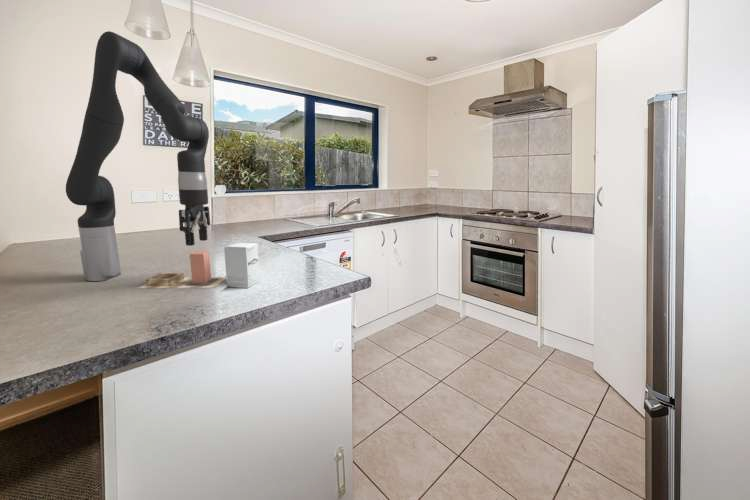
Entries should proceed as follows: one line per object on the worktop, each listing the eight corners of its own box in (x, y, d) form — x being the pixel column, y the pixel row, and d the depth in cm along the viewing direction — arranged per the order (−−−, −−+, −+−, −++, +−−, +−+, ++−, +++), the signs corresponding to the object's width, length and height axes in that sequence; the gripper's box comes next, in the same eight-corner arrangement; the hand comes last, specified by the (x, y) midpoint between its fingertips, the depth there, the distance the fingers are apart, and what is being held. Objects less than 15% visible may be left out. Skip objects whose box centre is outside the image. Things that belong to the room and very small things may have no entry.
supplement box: (248, 288, 108) (245, 247, 106) (226, 287, 110) (222, 246, 107) (260, 281, 115) (258, 243, 113) (239, 280, 117) (237, 242, 114)
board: (137, 291, 105) (135, 281, 105) (158, 280, 116) (157, 271, 116) (213, 290, 106) (212, 280, 105) (227, 280, 117) (226, 271, 116)
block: (192, 283, 109) (189, 254, 107) (198, 279, 113) (195, 251, 111) (205, 283, 109) (203, 254, 107) (211, 279, 113) (208, 251, 111)
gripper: (194, 189, 98) (199, 247, 101) (216, 187, 112) (219, 239, 115) (166, 188, 98) (172, 247, 101) (191, 187, 112) (195, 238, 115)
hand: (197, 242), depth 108 cm, fingers open, 8 cm apart
